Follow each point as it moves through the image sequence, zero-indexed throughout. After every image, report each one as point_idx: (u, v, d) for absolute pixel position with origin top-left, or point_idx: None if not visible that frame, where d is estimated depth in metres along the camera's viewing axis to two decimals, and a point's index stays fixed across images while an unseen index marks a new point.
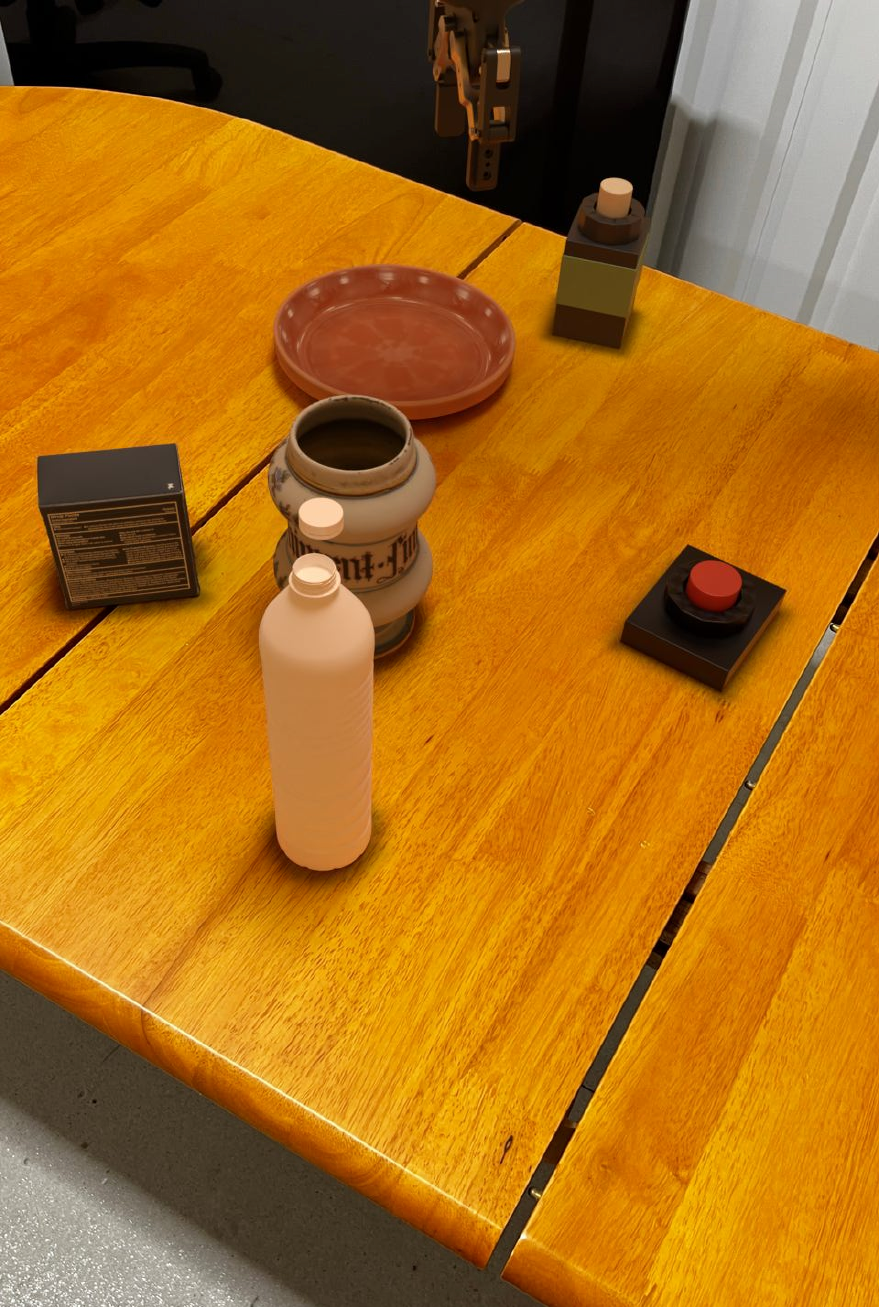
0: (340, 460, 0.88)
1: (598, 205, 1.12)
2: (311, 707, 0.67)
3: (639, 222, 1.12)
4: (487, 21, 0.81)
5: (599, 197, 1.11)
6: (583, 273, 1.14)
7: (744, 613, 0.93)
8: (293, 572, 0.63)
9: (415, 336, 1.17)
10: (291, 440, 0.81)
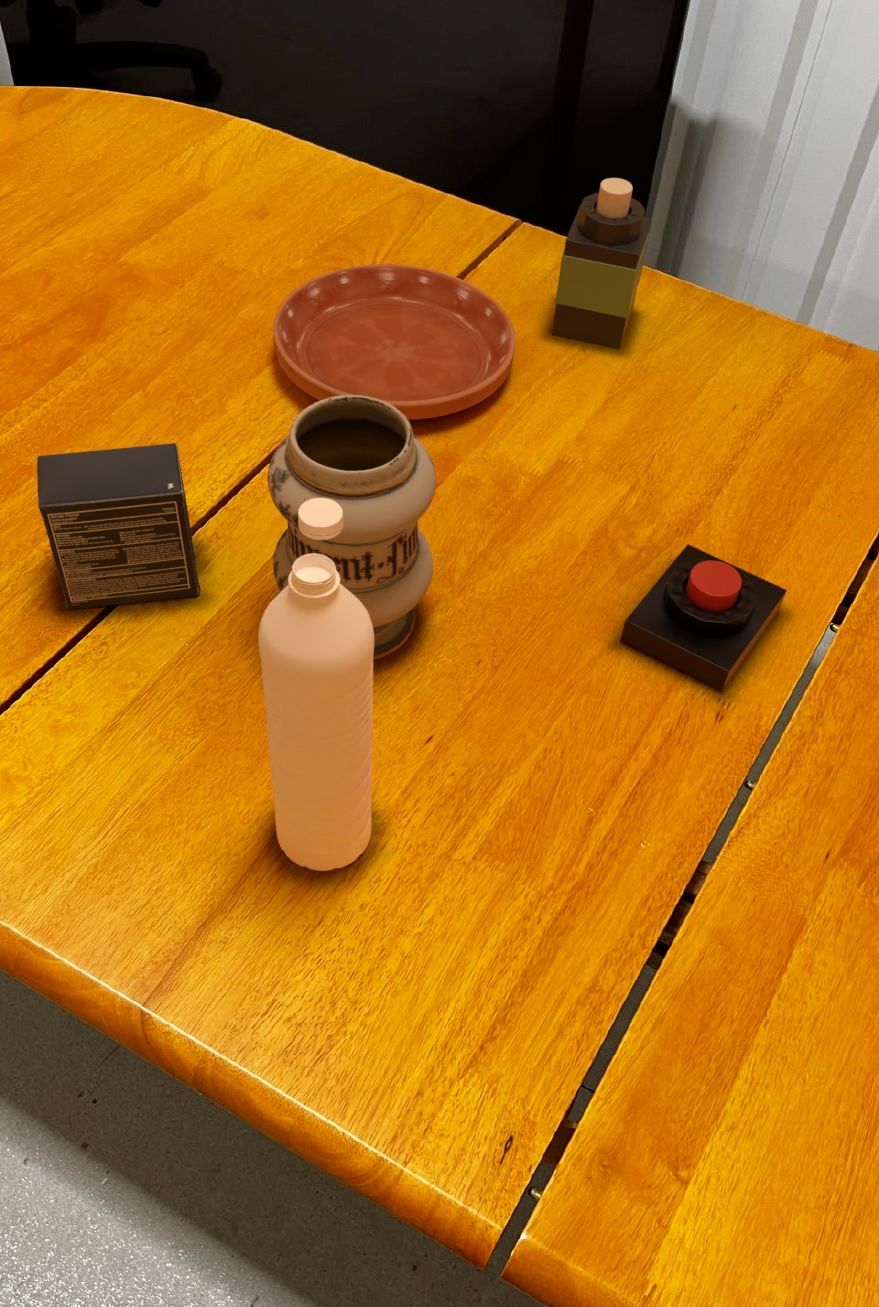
0: (340, 460, 0.88)
1: (598, 205, 1.12)
2: (310, 707, 0.67)
3: (639, 222, 1.12)
4: None
5: (599, 197, 1.11)
6: (583, 273, 1.14)
7: (744, 613, 0.93)
8: (292, 572, 0.63)
9: (415, 336, 1.17)
10: (291, 440, 0.81)
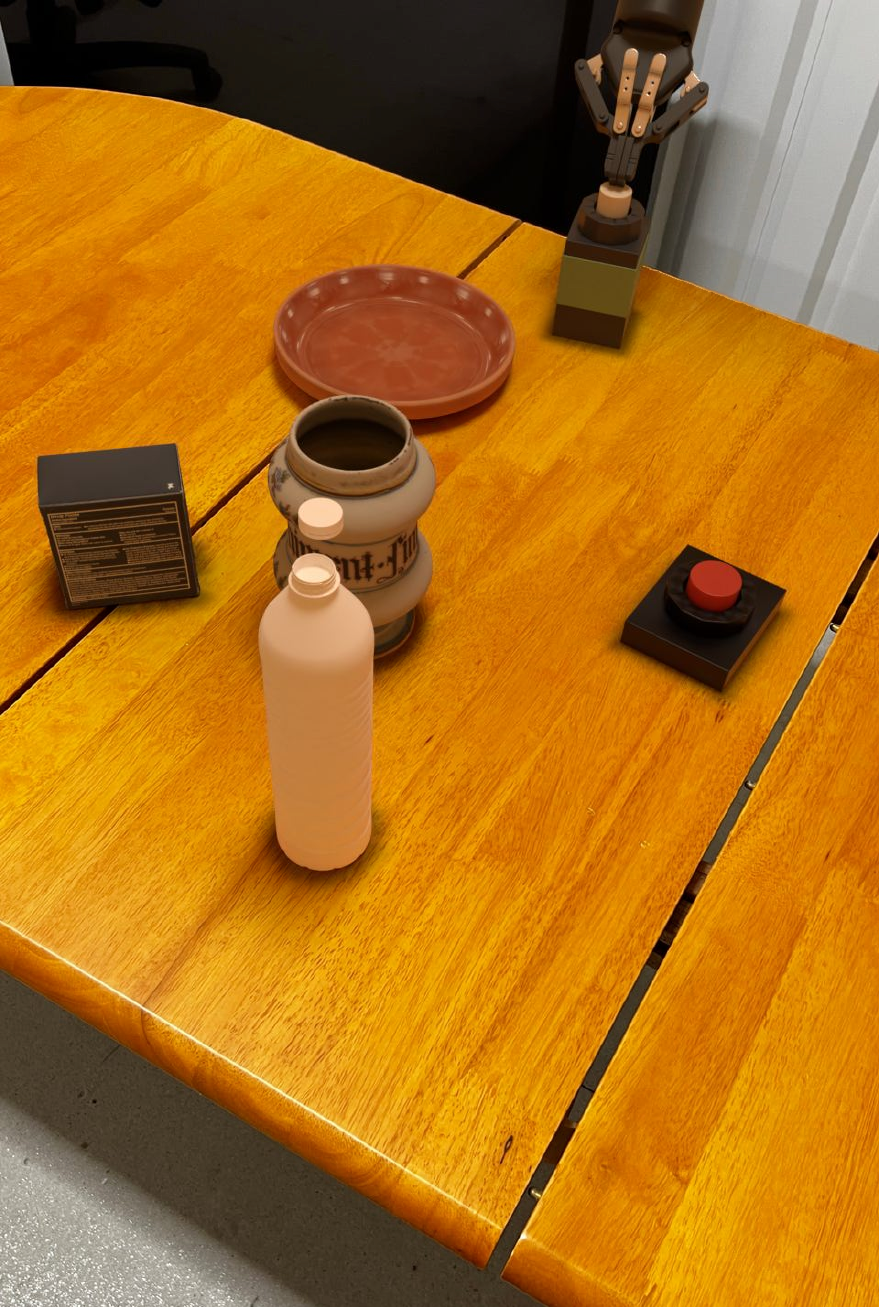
0: (340, 460, 0.88)
1: (597, 209, 1.12)
2: (311, 707, 0.67)
3: (639, 222, 1.12)
4: None
5: (598, 201, 1.12)
6: (583, 273, 1.14)
7: (744, 613, 0.93)
8: (293, 572, 0.63)
9: (415, 336, 1.17)
10: (291, 440, 0.81)
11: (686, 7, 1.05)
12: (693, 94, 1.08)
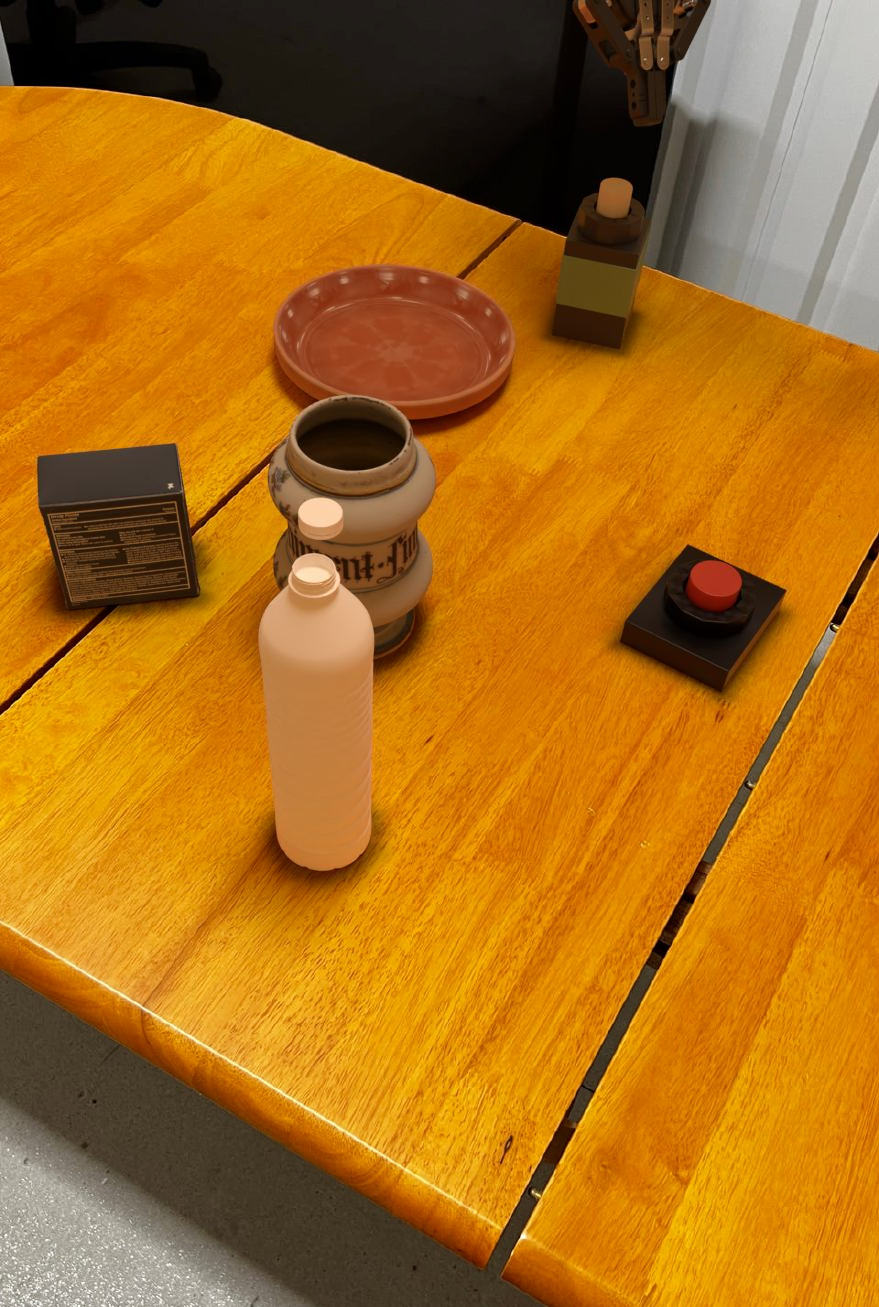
0: (340, 460, 0.88)
1: (598, 205, 1.12)
2: (310, 707, 0.67)
3: (639, 222, 1.12)
4: None
5: (599, 197, 1.11)
6: (583, 273, 1.14)
7: (744, 613, 0.93)
8: (292, 572, 0.63)
9: (415, 336, 1.17)
10: (291, 440, 0.81)
11: None
12: (699, 7, 0.99)
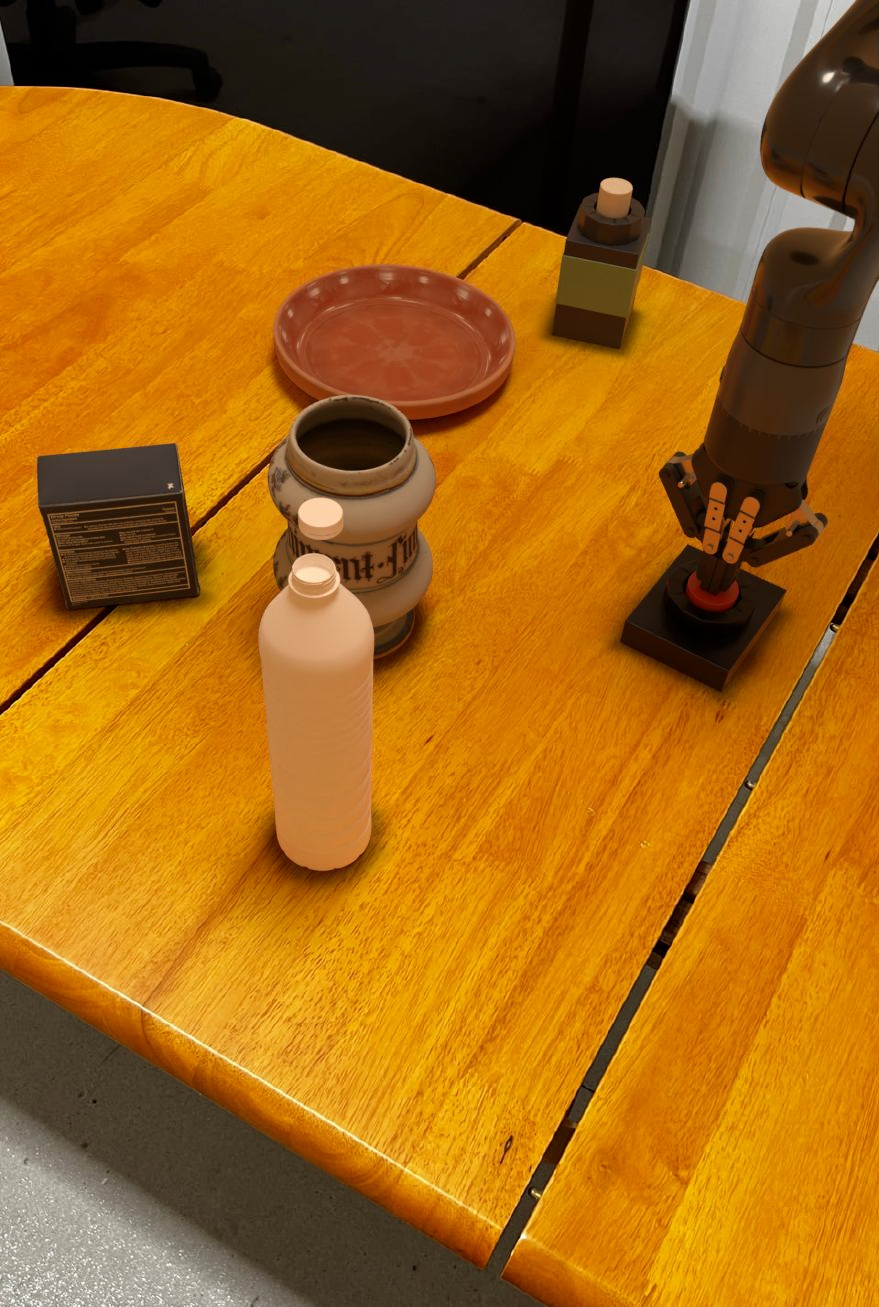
0: (340, 460, 0.88)
1: (598, 205, 1.12)
2: (310, 707, 0.67)
3: (639, 222, 1.12)
4: (801, 482, 0.83)
5: (599, 197, 1.11)
6: (583, 273, 1.14)
7: (744, 613, 0.93)
8: (292, 572, 0.63)
9: (415, 336, 1.17)
10: (291, 440, 0.81)
11: None
12: None
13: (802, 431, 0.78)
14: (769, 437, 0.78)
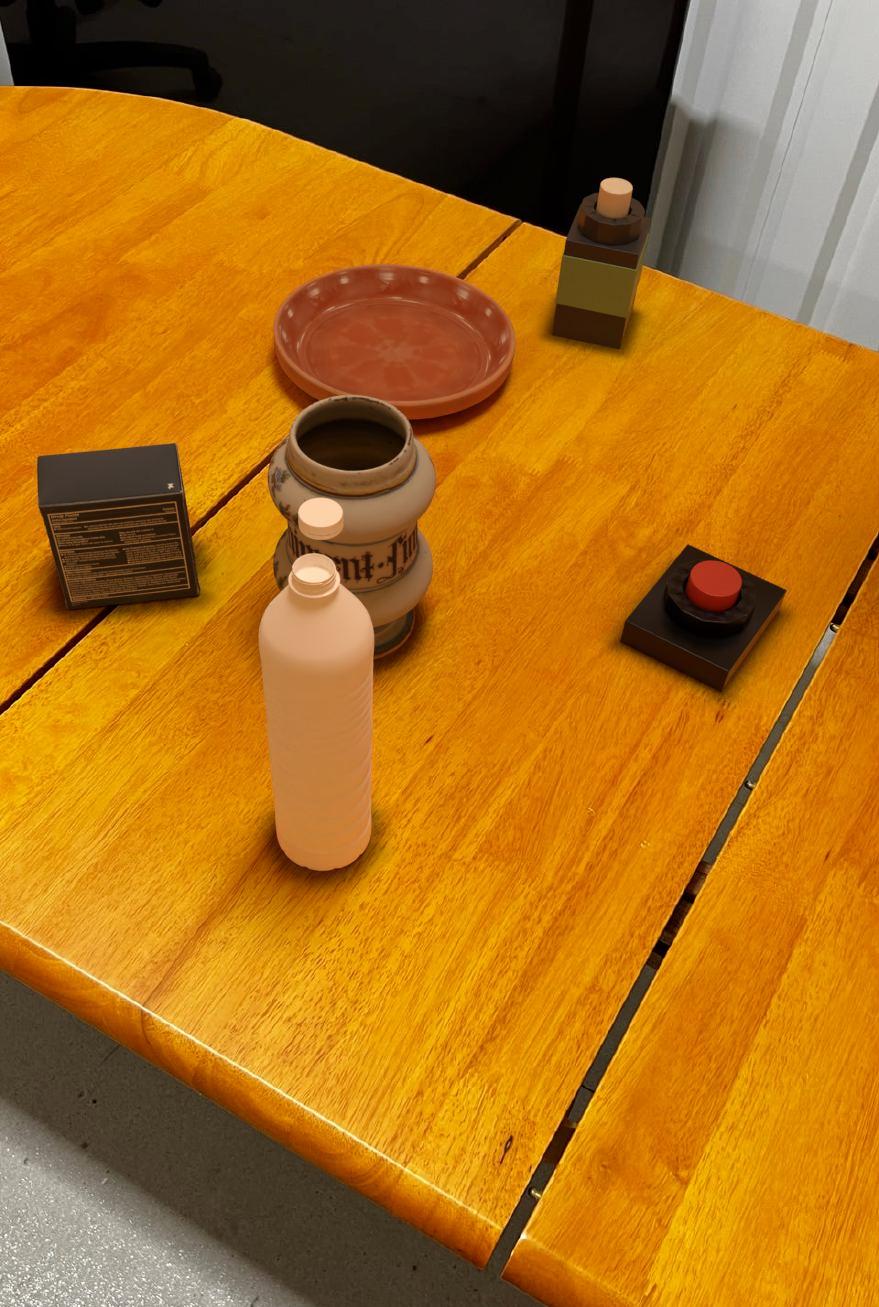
0: (340, 460, 0.88)
1: (598, 205, 1.12)
2: (311, 707, 0.67)
3: (639, 222, 1.12)
4: None
5: (599, 197, 1.11)
6: (583, 273, 1.14)
7: (744, 613, 0.93)
8: (293, 572, 0.63)
9: (415, 336, 1.17)
10: (291, 440, 0.81)
11: None
12: None
13: None
14: None
